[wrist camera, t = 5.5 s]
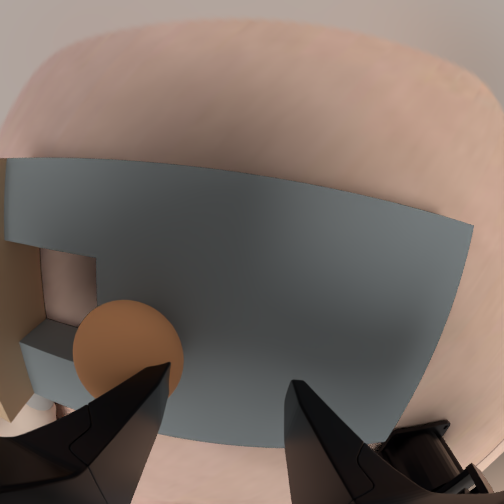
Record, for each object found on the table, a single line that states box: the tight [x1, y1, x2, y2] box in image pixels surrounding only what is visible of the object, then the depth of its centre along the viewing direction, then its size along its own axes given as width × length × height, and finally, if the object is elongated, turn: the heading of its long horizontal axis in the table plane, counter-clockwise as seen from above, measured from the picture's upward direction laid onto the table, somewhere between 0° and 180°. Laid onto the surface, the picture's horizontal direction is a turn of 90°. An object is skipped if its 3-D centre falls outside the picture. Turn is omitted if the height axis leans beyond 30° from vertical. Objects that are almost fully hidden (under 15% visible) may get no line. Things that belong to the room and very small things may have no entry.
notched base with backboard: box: [0, 158, 474, 448], centre depth 11 cm, size 22×13×6 cm, turn 81°
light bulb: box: [0, 393, 57, 437], centre depth 14 cm, size 7×7×11 cm
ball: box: [73, 300, 184, 399], centre depth 9 cm, size 4×4×4 cm
